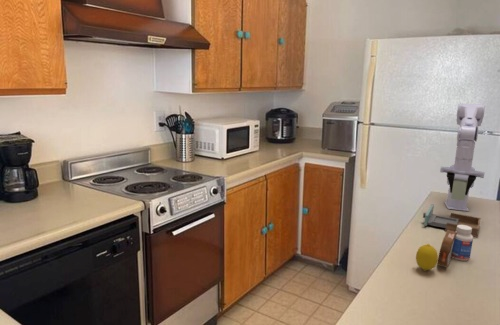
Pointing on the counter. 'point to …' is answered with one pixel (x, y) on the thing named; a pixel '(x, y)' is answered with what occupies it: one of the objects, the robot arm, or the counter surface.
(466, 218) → the brown shallow rectangular box
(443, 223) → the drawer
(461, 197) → the block
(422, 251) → the lemon
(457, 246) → the pill bottle
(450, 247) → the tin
